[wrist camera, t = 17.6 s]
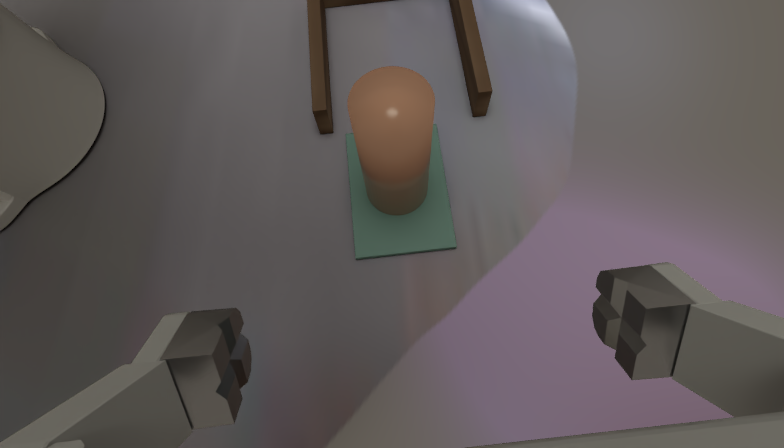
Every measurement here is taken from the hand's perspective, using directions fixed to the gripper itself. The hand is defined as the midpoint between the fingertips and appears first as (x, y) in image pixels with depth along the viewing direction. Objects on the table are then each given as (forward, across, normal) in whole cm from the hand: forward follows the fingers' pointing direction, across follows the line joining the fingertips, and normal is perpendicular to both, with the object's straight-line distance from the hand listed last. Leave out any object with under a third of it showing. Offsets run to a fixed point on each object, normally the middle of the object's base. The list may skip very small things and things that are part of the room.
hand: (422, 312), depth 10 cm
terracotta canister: (+22, -1, +5) cm, 22 cm away
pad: (+22, -1, +5) cm, 23 cm away
